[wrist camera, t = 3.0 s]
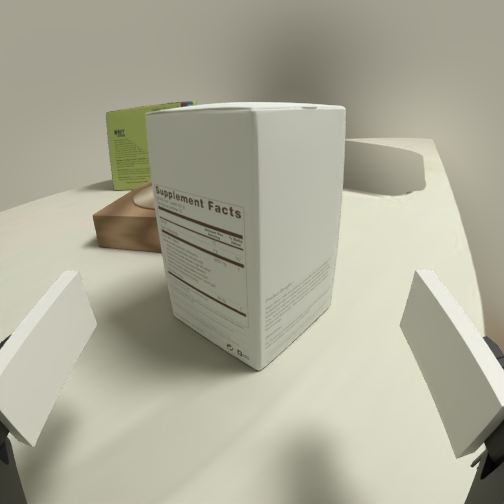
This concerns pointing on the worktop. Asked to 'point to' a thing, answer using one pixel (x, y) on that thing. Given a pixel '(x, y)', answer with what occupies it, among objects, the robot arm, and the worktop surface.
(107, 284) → the worktop surface
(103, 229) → the pedestal
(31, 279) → the worktop surface
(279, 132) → the supplement box
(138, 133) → the protein box
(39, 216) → the worktop surface
